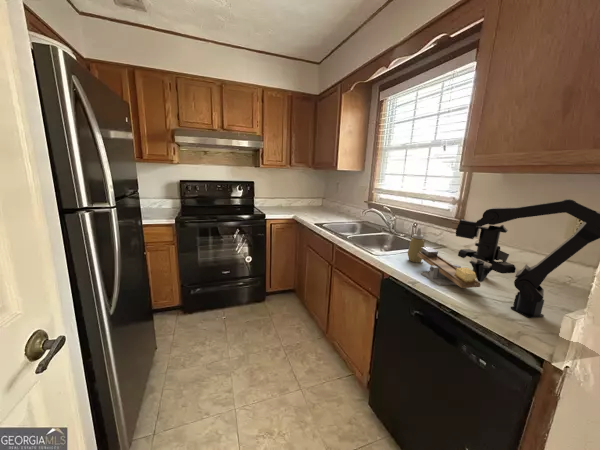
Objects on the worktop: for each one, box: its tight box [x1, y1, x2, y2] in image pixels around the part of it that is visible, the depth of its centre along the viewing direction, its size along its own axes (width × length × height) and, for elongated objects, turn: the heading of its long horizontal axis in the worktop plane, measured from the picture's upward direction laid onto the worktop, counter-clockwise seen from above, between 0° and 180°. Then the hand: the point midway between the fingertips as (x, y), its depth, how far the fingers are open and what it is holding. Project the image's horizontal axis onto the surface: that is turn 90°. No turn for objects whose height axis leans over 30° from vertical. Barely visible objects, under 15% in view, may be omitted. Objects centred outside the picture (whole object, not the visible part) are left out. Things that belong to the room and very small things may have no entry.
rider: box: [454, 267, 477, 283], centre depth 102 cm, size 5×5×4 cm
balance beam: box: [417, 252, 482, 289], centre depth 112 cm, size 28×9×2 cm, turn 12°
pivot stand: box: [420, 264, 462, 286], centre depth 113 cm, size 12×15×6 cm
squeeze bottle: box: [407, 227, 425, 263], centre depth 134 cm, size 8×8×18 cm
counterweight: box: [421, 246, 439, 258], centre depth 122 cm, size 5×5×3 cm
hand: (480, 281), depth 96 cm, fingers closed
